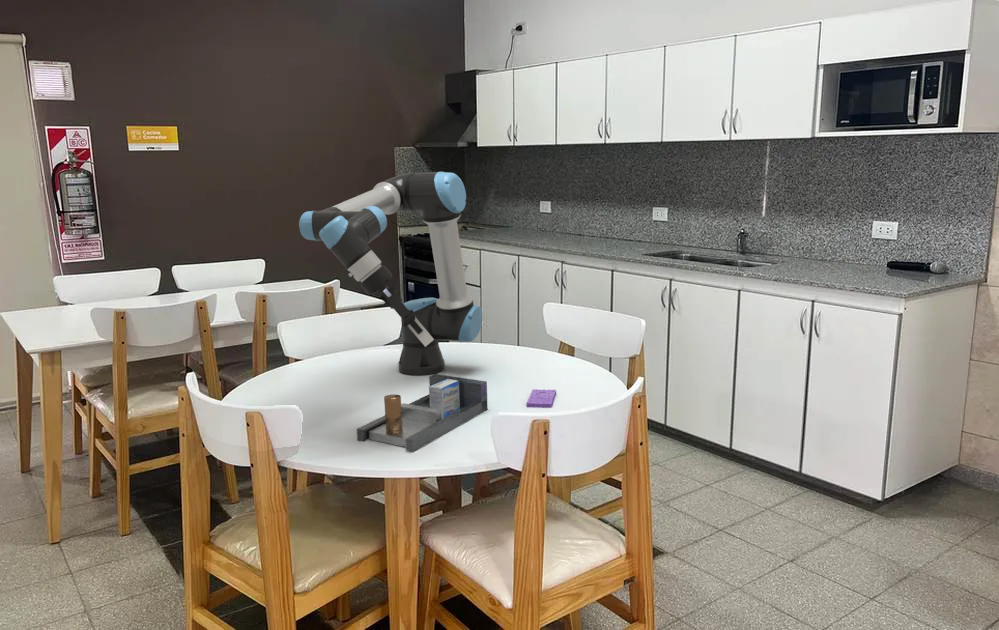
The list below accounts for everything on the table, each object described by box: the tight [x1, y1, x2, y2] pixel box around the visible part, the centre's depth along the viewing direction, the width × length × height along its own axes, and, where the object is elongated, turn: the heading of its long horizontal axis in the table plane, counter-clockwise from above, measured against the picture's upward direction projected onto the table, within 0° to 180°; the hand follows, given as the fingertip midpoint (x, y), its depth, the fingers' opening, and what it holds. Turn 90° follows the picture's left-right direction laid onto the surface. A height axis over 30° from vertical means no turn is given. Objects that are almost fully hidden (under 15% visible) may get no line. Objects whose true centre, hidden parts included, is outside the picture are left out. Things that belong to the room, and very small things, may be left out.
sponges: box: [525, 388, 557, 409], centre depth 213 cm, size 7×13×2 cm, turn 170°
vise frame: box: [356, 373, 489, 453], centre depth 195 cm, size 17×34×8 cm, turn 150°
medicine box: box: [428, 379, 460, 419], centre depth 203 cm, size 8×4×9 cm, turn 148°
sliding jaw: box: [368, 394, 442, 448], centre depth 188 cm, size 12×14×11 cm
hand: (427, 340), depth 186 cm, fingers open, 13 cm apart
